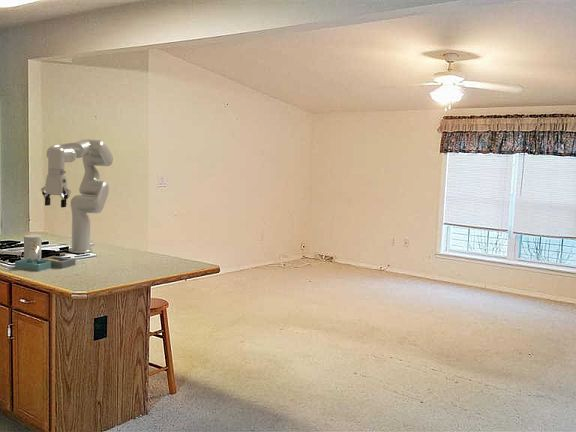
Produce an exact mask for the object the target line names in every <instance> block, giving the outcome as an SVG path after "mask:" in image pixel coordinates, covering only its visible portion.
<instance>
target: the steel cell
mask: <svg viewBox="0 0 576 432" xmlns="http://www.w3.org/2000/svg"><path fill="white" fill-rule="evenodd" d="M29 263H32V264H38V249H35V248H32V249H29Z"/></svg>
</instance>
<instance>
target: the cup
mask: <svg viewBox="0 0 576 432" xmlns="http://www.w3.org/2000/svg"><path fill="white" fill-rule="evenodd" d="M34 245H37V246H40V259H42V235H40V234H26V235H24V236H23V260H24V259H28V258H29V249H31V246H34Z"/></svg>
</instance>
